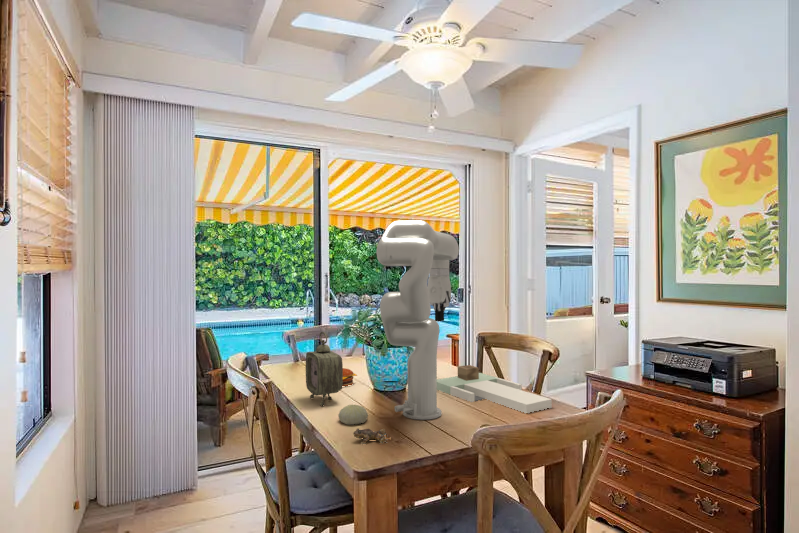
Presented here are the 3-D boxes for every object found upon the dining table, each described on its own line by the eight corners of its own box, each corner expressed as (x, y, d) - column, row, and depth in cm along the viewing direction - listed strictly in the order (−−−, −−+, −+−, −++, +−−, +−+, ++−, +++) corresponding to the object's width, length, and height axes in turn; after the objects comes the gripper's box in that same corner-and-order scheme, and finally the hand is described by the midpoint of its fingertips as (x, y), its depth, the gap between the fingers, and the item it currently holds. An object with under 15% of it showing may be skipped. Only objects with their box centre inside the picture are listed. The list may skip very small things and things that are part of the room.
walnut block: (466, 380, 193) (466, 369, 193) (457, 377, 198) (457, 366, 198) (478, 379, 196) (478, 367, 196) (469, 375, 201) (469, 365, 201)
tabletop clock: (305, 398, 179) (305, 330, 179) (329, 395, 184) (328, 328, 184) (319, 408, 167) (319, 335, 166) (344, 404, 171) (343, 333, 171)
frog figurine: (359, 452, 130) (359, 437, 130) (345, 437, 141) (345, 423, 141) (399, 445, 134) (399, 431, 134) (382, 431, 145) (382, 418, 145)
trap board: (512, 417, 157) (512, 407, 157) (431, 387, 194) (431, 380, 194) (564, 404, 170) (564, 396, 170) (479, 379, 207) (479, 372, 207)
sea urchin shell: (342, 422, 147) (338, 398, 152) (339, 434, 152) (336, 411, 158) (371, 419, 149) (367, 396, 155) (367, 431, 155) (363, 408, 160)
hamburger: (340, 381, 206) (340, 365, 206) (358, 384, 201) (358, 368, 201) (325, 385, 198) (325, 369, 198) (343, 389, 193) (343, 372, 193)
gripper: (420, 273, 193) (420, 319, 193) (443, 273, 180) (443, 323, 180) (435, 273, 197) (435, 318, 197) (459, 273, 184) (459, 322, 184)
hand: (439, 321), depth 188 cm, fingers closed
